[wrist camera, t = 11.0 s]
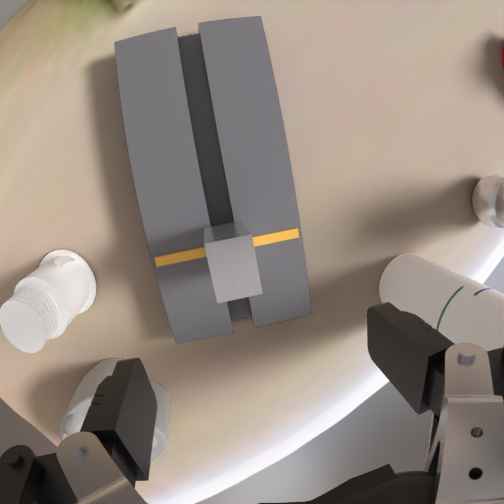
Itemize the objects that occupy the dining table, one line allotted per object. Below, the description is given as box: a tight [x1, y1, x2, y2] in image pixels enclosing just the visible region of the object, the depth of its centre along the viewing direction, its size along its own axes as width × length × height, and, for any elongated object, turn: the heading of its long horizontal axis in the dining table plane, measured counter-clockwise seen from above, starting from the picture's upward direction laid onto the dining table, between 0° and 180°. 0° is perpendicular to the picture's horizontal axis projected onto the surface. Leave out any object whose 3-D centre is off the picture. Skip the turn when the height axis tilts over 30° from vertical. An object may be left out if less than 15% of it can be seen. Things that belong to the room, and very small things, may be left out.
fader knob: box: [204, 221, 263, 303], centre depth 25 cm, size 4×3×9 cm
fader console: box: [114, 16, 312, 343], centre depth 27 cm, size 28×13×3 cm, turn 10°
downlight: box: [0, 250, 96, 353], centre depth 24 cm, size 8×7×10 cm
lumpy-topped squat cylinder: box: [60, 358, 171, 464], centre depth 29 cm, size 10×13×9 cm
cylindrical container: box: [379, 253, 504, 351], centre depth 22 cm, size 7×7×25 cm
